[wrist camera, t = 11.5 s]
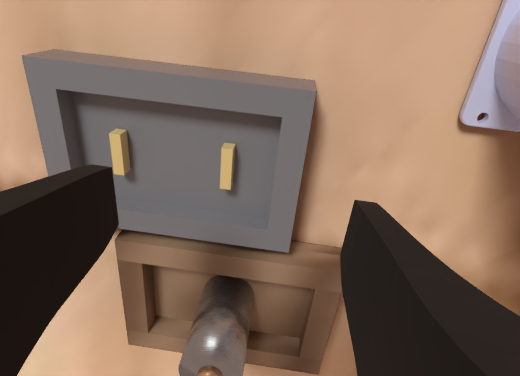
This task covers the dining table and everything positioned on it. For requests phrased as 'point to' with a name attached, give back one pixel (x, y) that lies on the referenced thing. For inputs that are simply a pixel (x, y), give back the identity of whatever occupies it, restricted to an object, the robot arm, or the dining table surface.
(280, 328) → the shallow wooden tray
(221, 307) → the cell
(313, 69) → the dining table surface
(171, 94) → the grey tray with pegs
